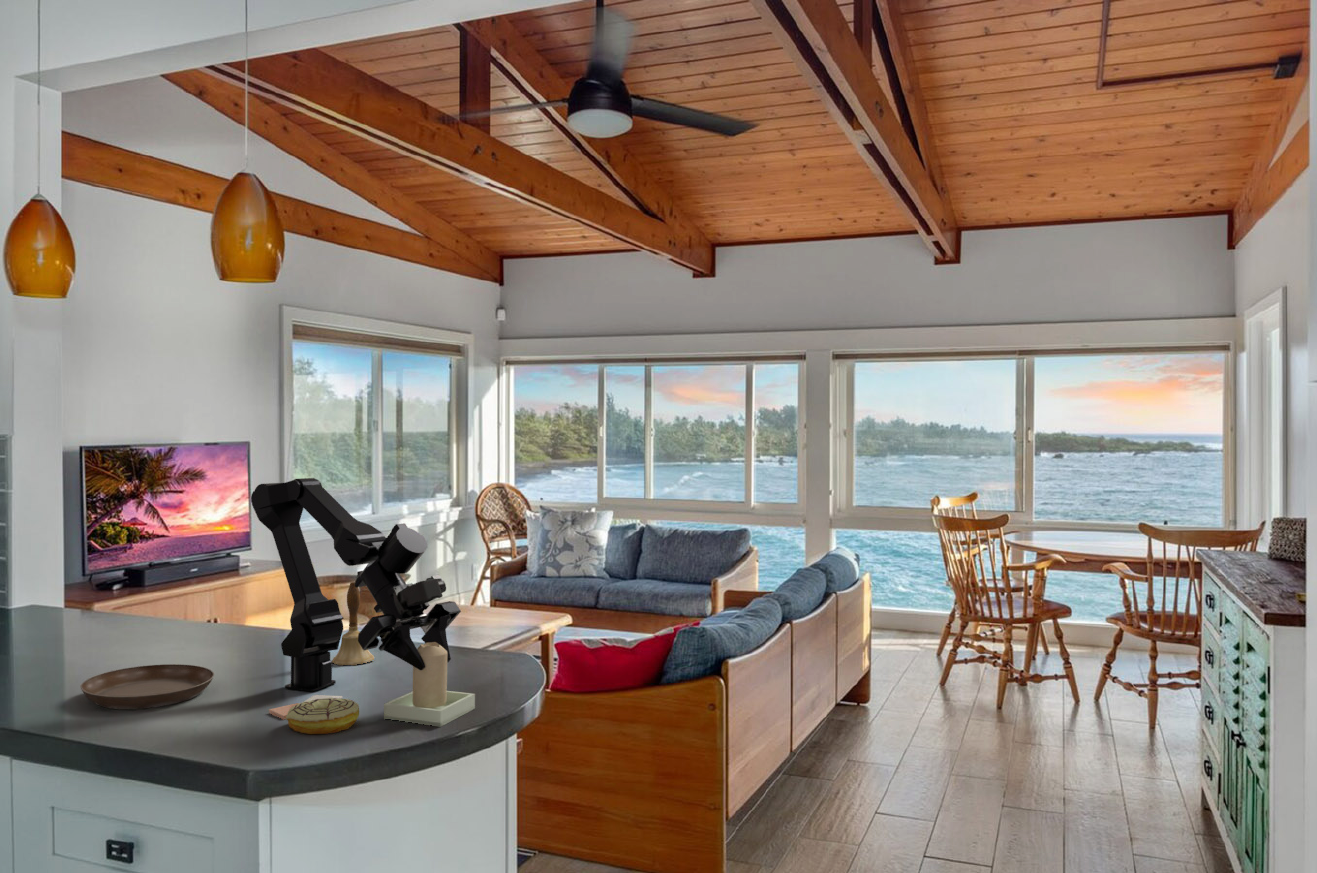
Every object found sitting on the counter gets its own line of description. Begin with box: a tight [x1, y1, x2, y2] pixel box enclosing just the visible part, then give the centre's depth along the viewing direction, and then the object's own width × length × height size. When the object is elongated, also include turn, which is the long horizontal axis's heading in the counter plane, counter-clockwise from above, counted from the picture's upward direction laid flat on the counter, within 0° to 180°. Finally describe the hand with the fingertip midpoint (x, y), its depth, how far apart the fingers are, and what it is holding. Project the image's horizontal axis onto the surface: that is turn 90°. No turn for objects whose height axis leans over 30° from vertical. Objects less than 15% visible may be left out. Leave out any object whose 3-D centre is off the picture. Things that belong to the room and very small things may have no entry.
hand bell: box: [331, 581, 375, 666], centre depth 193 cm, size 8×8×16 cm
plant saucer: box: [80, 663, 215, 710], centre depth 167 cm, size 21×21×3 cm
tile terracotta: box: [268, 702, 300, 721], centre depth 157 cm, size 5×5×1 cm
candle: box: [412, 642, 448, 708], centre depth 158 cm, size 6×6×10 cm
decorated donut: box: [285, 698, 360, 735], centre depth 151 cm, size 10×11×4 cm
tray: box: [383, 690, 476, 728], centre depth 158 cm, size 11×11×2 cm
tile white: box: [303, 694, 343, 702], centre depth 163 cm, size 5×5×1 cm
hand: (436, 665), depth 157 cm, fingers closed on candle, 5 cm apart
